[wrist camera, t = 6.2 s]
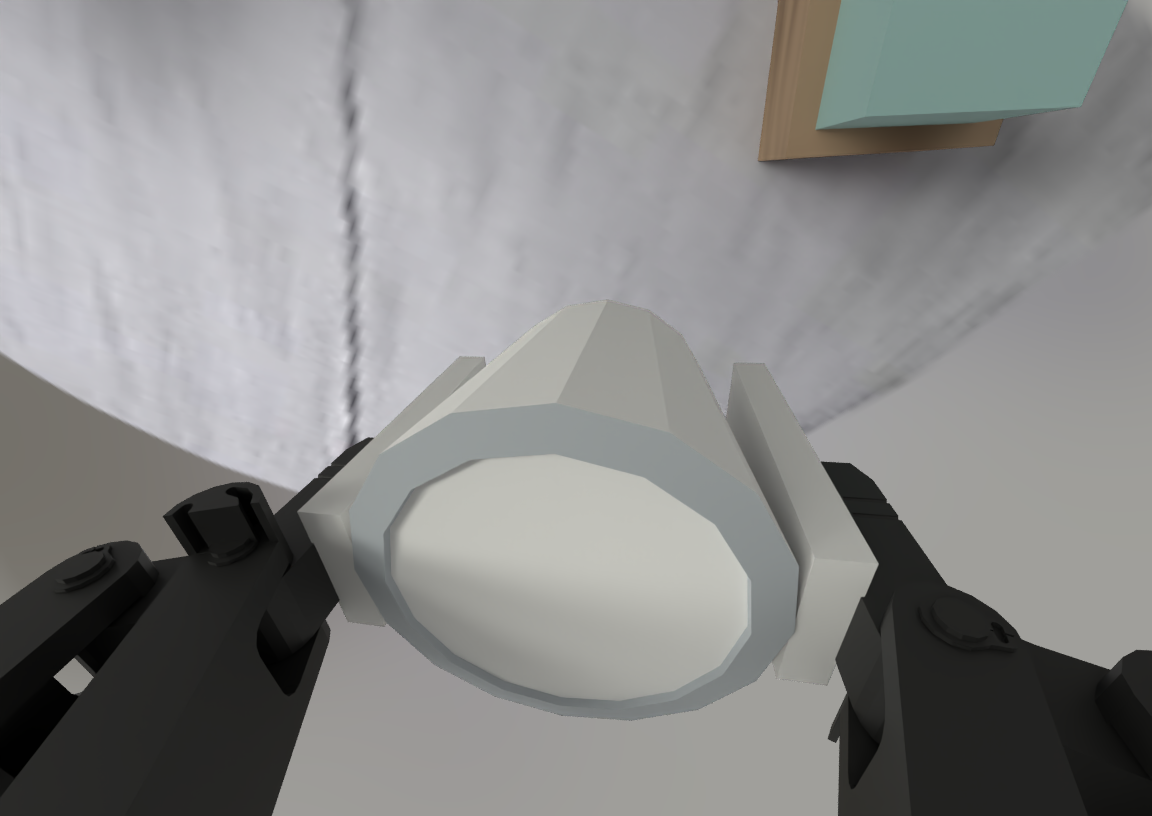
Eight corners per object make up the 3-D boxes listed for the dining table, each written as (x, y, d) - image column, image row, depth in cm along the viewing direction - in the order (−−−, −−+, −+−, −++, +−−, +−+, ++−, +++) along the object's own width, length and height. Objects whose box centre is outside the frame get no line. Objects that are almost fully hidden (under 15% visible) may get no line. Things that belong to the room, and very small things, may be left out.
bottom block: (757, 161, 24) (785, 158, 19) (782, -34, 20) (826, -105, 15) (916, 151, 23) (993, 145, 18) (975, -60, 19) (1096, -147, 14)
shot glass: (778, 409, 12) (906, 657, 6) (598, 519, 15) (560, 758, 9) (611, 213, 10) (551, 280, 4) (446, 383, 13) (270, 564, 7)
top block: (815, 129, 18) (865, 116, 14) (855, -70, 15) (934, -164, 11) (974, 123, 17) (1080, 106, 13) (1048, -90, 14) (1217, -202, 10)
